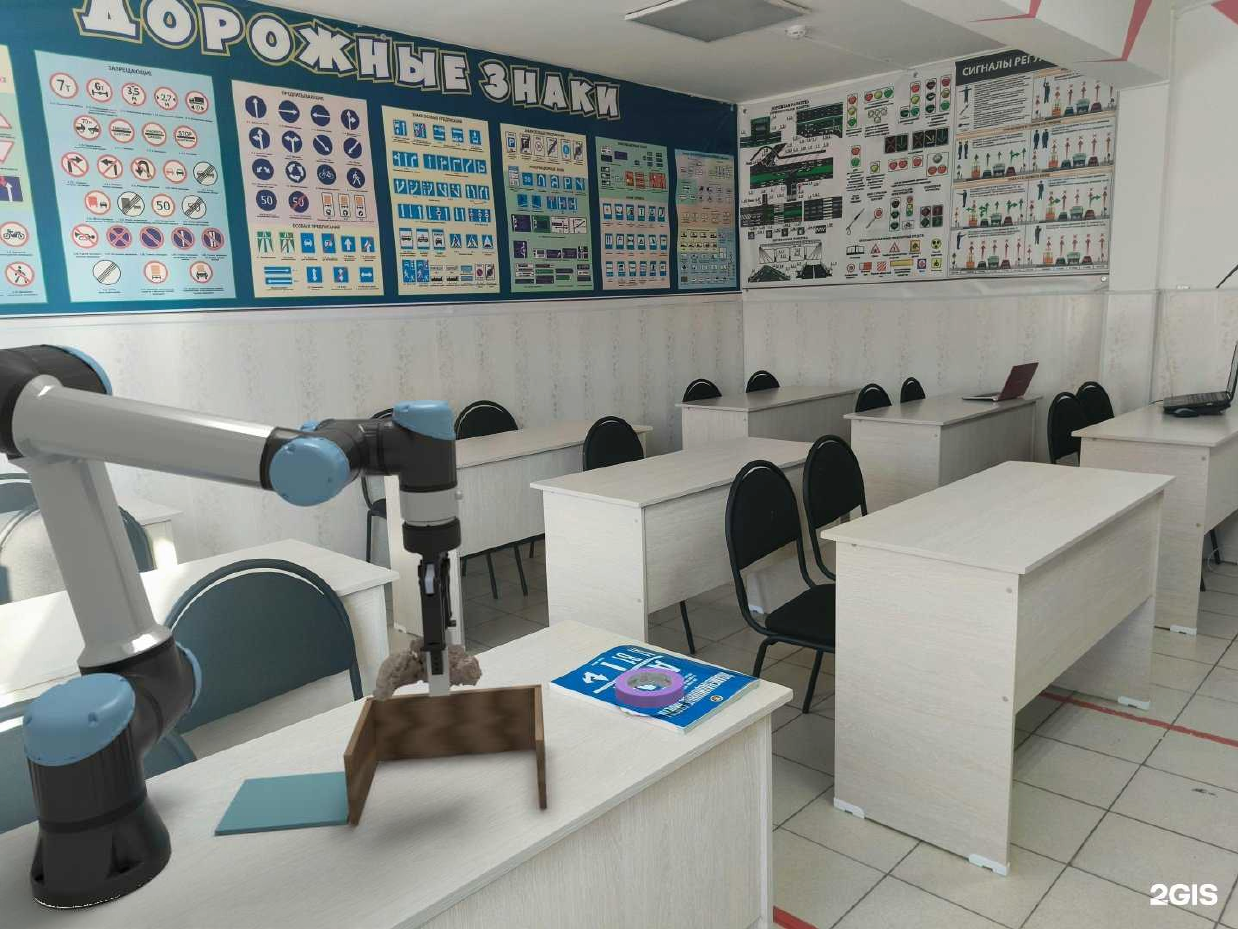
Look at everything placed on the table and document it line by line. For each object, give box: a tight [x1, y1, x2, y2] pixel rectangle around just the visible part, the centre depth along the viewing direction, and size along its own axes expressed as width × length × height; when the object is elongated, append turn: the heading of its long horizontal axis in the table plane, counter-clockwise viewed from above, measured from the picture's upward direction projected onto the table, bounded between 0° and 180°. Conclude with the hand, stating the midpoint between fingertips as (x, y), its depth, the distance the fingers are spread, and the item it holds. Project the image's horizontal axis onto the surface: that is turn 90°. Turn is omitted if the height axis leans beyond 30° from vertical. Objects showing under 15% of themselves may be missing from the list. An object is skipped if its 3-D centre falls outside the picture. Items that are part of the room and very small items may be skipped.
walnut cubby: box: [342, 683, 548, 826], centre depth 128 cm, size 26×18×10 cm
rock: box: [372, 636, 483, 701], centre depth 121 cm, size 6×14×7 cm, turn 100°
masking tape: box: [614, 667, 685, 708], centre depth 153 cm, size 12×12×4 cm
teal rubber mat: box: [214, 770, 350, 835], centre depth 126 cm, size 17×13×1 cm
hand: (442, 684), depth 123 cm, fingers closed on rock, 6 cm apart
